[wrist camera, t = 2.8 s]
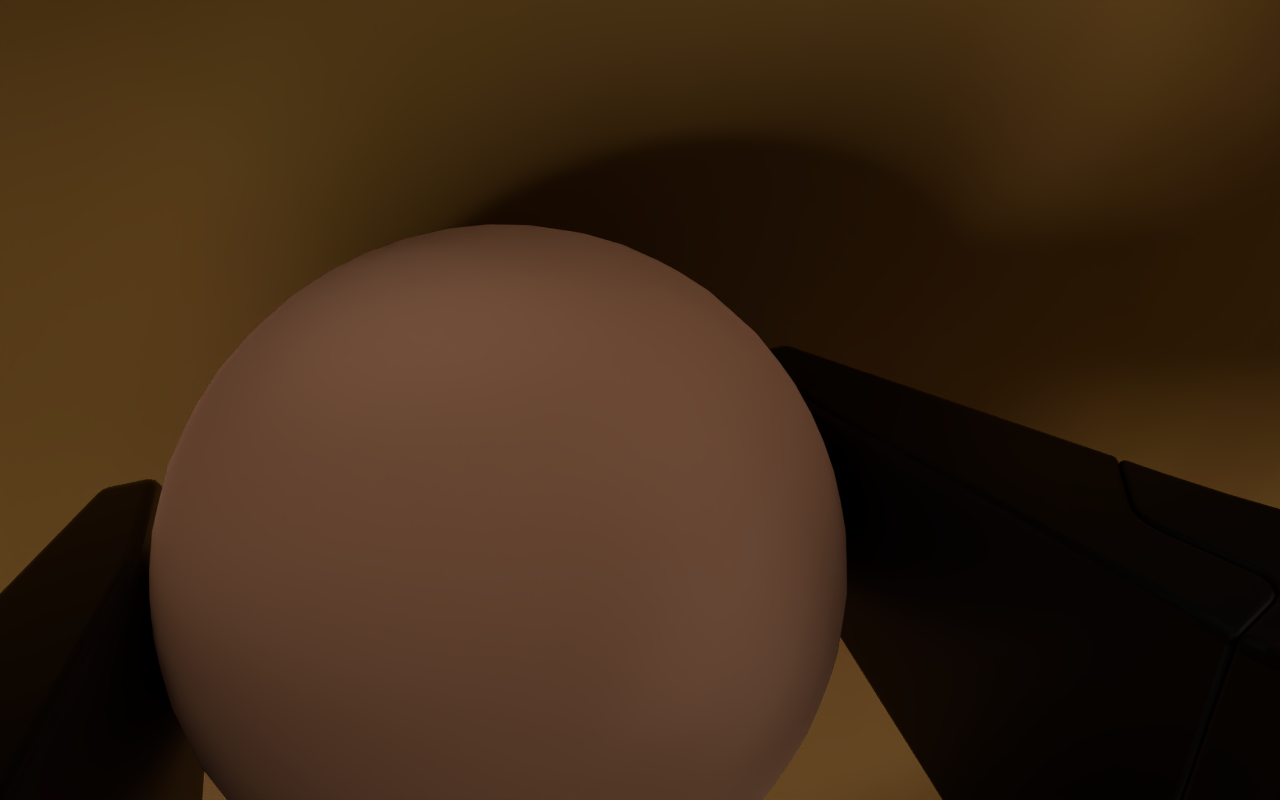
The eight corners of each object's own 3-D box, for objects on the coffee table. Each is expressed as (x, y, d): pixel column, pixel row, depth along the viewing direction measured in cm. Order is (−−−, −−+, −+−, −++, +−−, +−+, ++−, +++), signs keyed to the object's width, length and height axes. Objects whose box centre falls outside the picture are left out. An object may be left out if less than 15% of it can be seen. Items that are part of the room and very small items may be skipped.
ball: (705, 537, 12) (945, 939, 8) (246, 652, 11) (254, 1192, 7) (698, 96, 9) (1053, 363, 5) (86, 186, 8) (-55, 619, 4)
